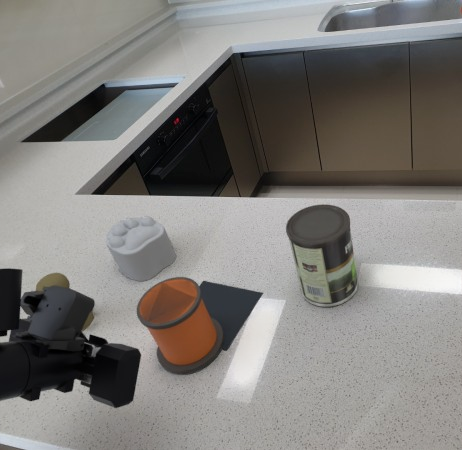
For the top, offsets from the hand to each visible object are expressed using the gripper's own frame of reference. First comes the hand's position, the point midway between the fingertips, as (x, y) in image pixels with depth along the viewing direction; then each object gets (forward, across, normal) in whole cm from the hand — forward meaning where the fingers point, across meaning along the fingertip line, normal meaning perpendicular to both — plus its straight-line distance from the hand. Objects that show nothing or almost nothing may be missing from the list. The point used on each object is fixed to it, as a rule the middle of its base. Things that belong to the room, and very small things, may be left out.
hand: (123, 350), depth 62 cm
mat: (+20, 0, -4) cm, 21 cm away
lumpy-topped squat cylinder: (+27, +23, -10) cm, 37 cm away
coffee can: (+28, -18, -12) cm, 35 cm away
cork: (+14, +25, +2) cm, 29 cm away
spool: (+15, 0, +1) cm, 15 cm away
